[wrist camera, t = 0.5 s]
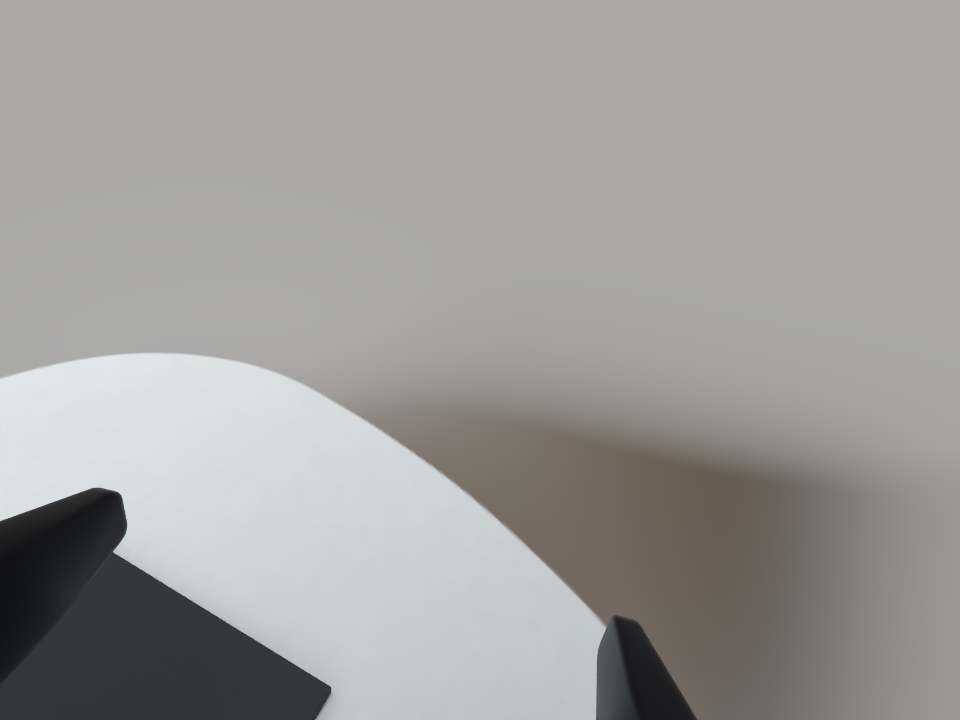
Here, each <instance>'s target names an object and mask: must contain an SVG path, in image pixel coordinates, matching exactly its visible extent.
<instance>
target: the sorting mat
mask: <svg viewBox="0 0 960 720" xmlns="http://www.w3.org/2000/svg"><path fill="white" fill-rule="evenodd" d="M330 693H331V687H330V686H328V685H327V684H325V683H323V682H322V681H320V680H319V679H317V678H315V677H314V676H312V675H311V674H309V673H307V672H306V671H304V670H302V669H301V668H299V667H298V666H296V665H294V664H293V663H291V662H289V661H288V660H286V659H285V658H283V657H281V656H280V655H278V654H277V653H275V652H273V651H272V650H270V649H268V648H267V647H265V646H264V645H262V644H260V643H259V642H257V641H255V640H254V639H252V638H251V637H249V636H247V635H246V634H244V633H243V632H241V631H239V630H238V629H236V628H234V627H233V626H231V625H230V624H228V623H226V622H225V621H223V620H221V619H220V618H218V617H217V616H215V615H213V614H212V613H210V612H209V611H207V610H205V609H204V608H202V607H200V606H199V605H197V604H196V603H194V602H192V601H191V600H189V599H188V598H186V597H184V596H183V595H181V594H179V593H178V592H176V591H175V590H173V589H171V588H170V587H168V586H166V585H165V584H163V583H162V582H160V581H158V580H157V579H155V578H154V577H152V576H150V575H149V574H147V573H145V572H144V571H142V570H141V569H139V568H137V567H136V566H134V565H132V564H131V563H129V562H128V561H126V560H124V559H123V558H121V557H120V556H118V555H116V554H115V553H113V552H112V554H111V555H110V556H109V557H108V559H107V560H106V561H105V563H104V564H103V565H102V567H101V568H100V569H99V570H98V572H97V573H96V574H95V576H94V577H93V578H92V579H91V581H90V582H89V583H88V585H87V586H86V587H85V589H84V590H83V591H82V592H81V594H80V595H79V596H78V598H77V599H76V600H75V602H74V603H73V604H72V605H71V607H70V608H69V609H68V610H67V612H66V613H65V614H64V615H63V617H62V618H61V619H60V620H59V621H58V623H57V624H56V625H55V626H54V627H53V628H52V629H51V631H50V632H49V633H48V634H47V635H46V636H45V637H44V638H43V639H42V641H41V642H40V643H39V644H38V645H37V646H36V647H35V648H34V649H33V651H32V652H31V653H30V654H29V655H28V656H27V657H26V658H25V659H24V660H23V662H22V663H21V664H20V665H19V666H18V667H17V668H16V669H15V670H14V671H13V673H12V674H11V675H10V676H9V677H8V678H7V679H6V680H5V681H4V682H3V684H2V685H1V686H0V720H315V719H316V717H317V715H318V713H319V712H320V710H321V708H322V707H323V705H324V703H325V702H326V700H327V698H328V696H329V695H330Z"/></svg>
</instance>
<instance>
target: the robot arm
mask: <svg viewBox="0 0 960 720" xmlns="http://www.w3.org/2000/svg"><path fill="white" fill-rule="evenodd" d="M126 530H127V520H126V515H125V510H124V505H123V499H122V496H121V495H120V494H119V493H118V492H116V491H112V490H107V489H103V488H92V489H89V490H86V491H83V492H80V493H78V494H75V495H72V496H69V497H66V498H64V499H61V500H58V501H55V502H53V503H50V504H47V505H44V506H41V507H39V508H36V509H33V510H30V511H28V512H25V513H22V514H19V515H16V516H14V517H11V518H8V519H5V520H2V521H0V686H1V685H2V684H3V682H4V681H5V680H6V679H7V678H8V677H9V676H10V675H11V674H12V673H13V671H14V670H15V669H16V668H17V667H18V666H19V665H20V664H21V663H22V662H23V660H24V659H25V658H26V657H27V656H28V655H29V654H30V653H31V652H32V651H33V649H34V648H35V647H36V646H37V645H38V644H39V643H40V642H41V641H42V639H43V638H44V637H45V636H46V635H47V634H48V633H49V632H50V631H51V629H52V628H53V627H54V626H55V625H56V624H57V623H58V621H59V620H60V619H61V618H62V617H63V615H64V614H65V613H66V612H67V610H68V609H69V608H70V607H71V605H72V604H73V603H74V602H75V600H76V599H77V598H78V596H79V595H80V594H81V592H82V591H83V590H84V589H85V587H86V586H87V585H88V583H89V582H90V581H91V579H92V578H93V577H94V576H95V574H96V573H97V572H98V570H99V569H100V568H101V567H102V565H103V564H104V563H105V561H106V560H107V559H108V557H109V556H110V555H111V554H112V552H113V551H114V550H115V548H116V547H117V546H118V544H119V543H120V542H121V540H122V539H123V537H124V535H125V533H126ZM596 720H697V718H696V716H695V715H694V713H693V712H692V710H691V708H690V706H689V705H688V703H687V701H686V700H685V698H684V696H683V695H682V693H681V691H680V690H679V688H678V687H677V685H676V683H675V682H674V680H673V678H672V677H671V675H670V673H669V672H668V670H667V668H666V667H665V665H664V663H663V662H662V660H661V658H660V657H659V655H658V653H657V652H656V650H655V649H654V647H653V645H652V643H651V642H650V640H649V639H648V637H647V635H646V634H645V632H644V630H643V628H642V627H641V625H640V624H639V623H638V622H637V621H635V620H633V619H630V618H626V617H622V616H617V615H614V616H613V617H612V618H611V619H610V621H609V623H608V626H607V628H606V631H605V633H604V635H603V638H602V640H601V642H600V645H599V649H598V655H597V703H596Z"/></svg>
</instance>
